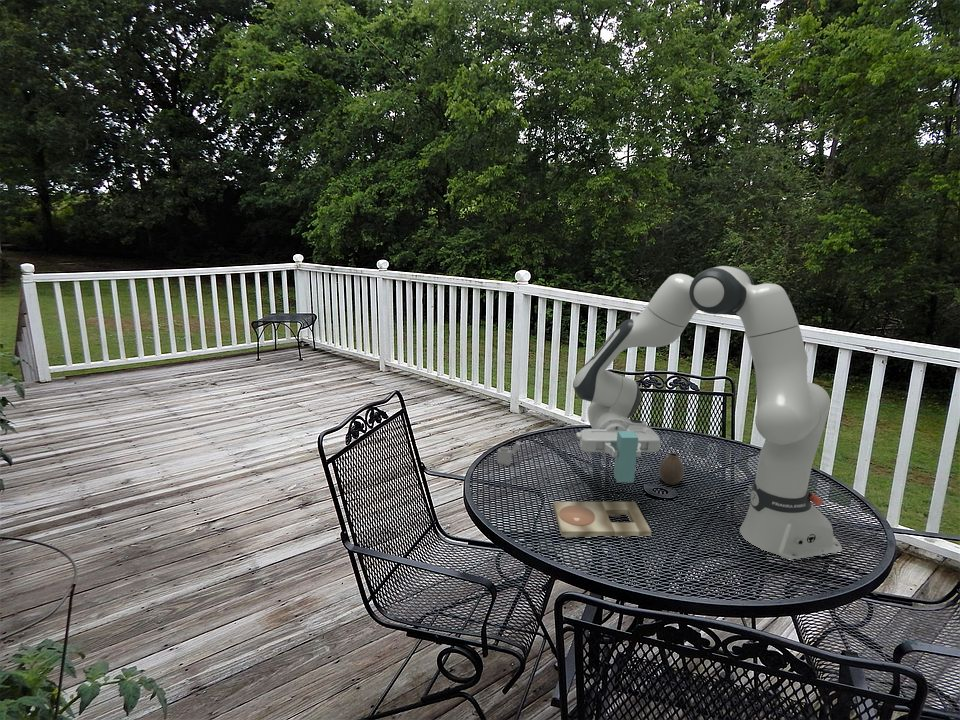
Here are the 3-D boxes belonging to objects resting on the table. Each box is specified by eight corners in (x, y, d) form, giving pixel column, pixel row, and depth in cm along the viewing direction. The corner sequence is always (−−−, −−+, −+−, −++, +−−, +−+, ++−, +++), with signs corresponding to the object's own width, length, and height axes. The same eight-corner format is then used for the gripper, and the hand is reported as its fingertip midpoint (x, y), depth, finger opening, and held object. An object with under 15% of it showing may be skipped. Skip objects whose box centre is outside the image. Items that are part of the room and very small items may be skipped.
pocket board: (634, 508, 153) (635, 501, 153) (650, 538, 140) (651, 531, 139) (553, 508, 153) (553, 501, 152) (561, 538, 139) (562, 531, 139)
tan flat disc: (590, 506, 150) (590, 505, 150) (598, 525, 142) (598, 524, 141) (556, 506, 150) (556, 505, 150) (562, 525, 141) (562, 524, 141)
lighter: (496, 463, 178) (497, 439, 175) (498, 460, 179) (499, 437, 177) (519, 466, 176) (519, 443, 173) (520, 464, 177) (521, 440, 175)
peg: (629, 474, 145) (633, 431, 142) (633, 482, 141) (638, 437, 138) (613, 474, 145) (617, 431, 141) (617, 482, 141) (621, 437, 138)
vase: (677, 489, 164) (681, 461, 161) (654, 482, 168) (657, 455, 165) (685, 480, 169) (689, 453, 166) (662, 473, 173) (666, 447, 170)
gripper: (575, 420, 152) (585, 442, 139) (651, 421, 153) (668, 442, 140) (573, 442, 154) (584, 466, 141) (648, 442, 155) (666, 466, 141)
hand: (627, 454), depth 140 cm, fingers closed on peg, 4 cm apart
